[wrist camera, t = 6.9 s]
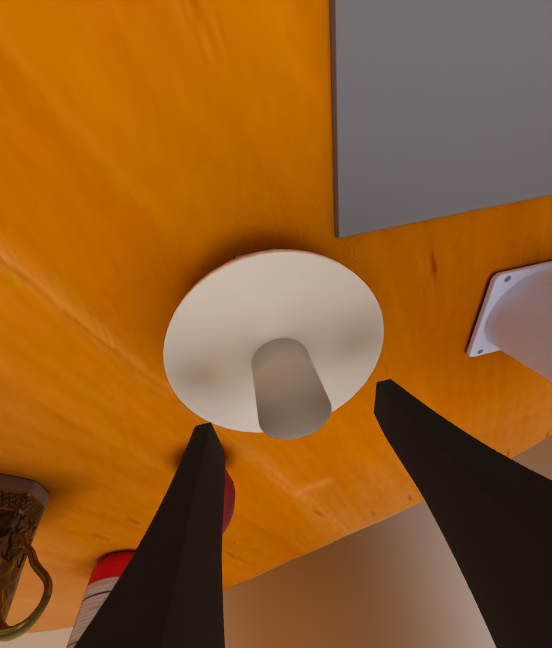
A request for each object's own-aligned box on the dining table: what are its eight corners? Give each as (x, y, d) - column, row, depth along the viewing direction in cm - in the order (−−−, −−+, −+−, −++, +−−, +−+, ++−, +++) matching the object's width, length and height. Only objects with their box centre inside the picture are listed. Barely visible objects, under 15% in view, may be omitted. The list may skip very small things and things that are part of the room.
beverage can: (102, 572, 34) (49, 744, 23) (89, 554, 30) (21, 743, 20) (152, 563, 35) (122, 723, 25) (145, 545, 32) (107, 719, 22)
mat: (821, -396, 8) (862, -436, 7) (570, 188, 16) (581, 188, 16) (320, -372, 7) (328, -417, 6) (335, 236, 15) (339, 238, 15)
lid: (387, 225, 11) (460, 249, 8) (372, 400, 18) (408, 457, 14) (121, 279, 11) (68, 332, 7) (205, 441, 17) (200, 512, 13)
